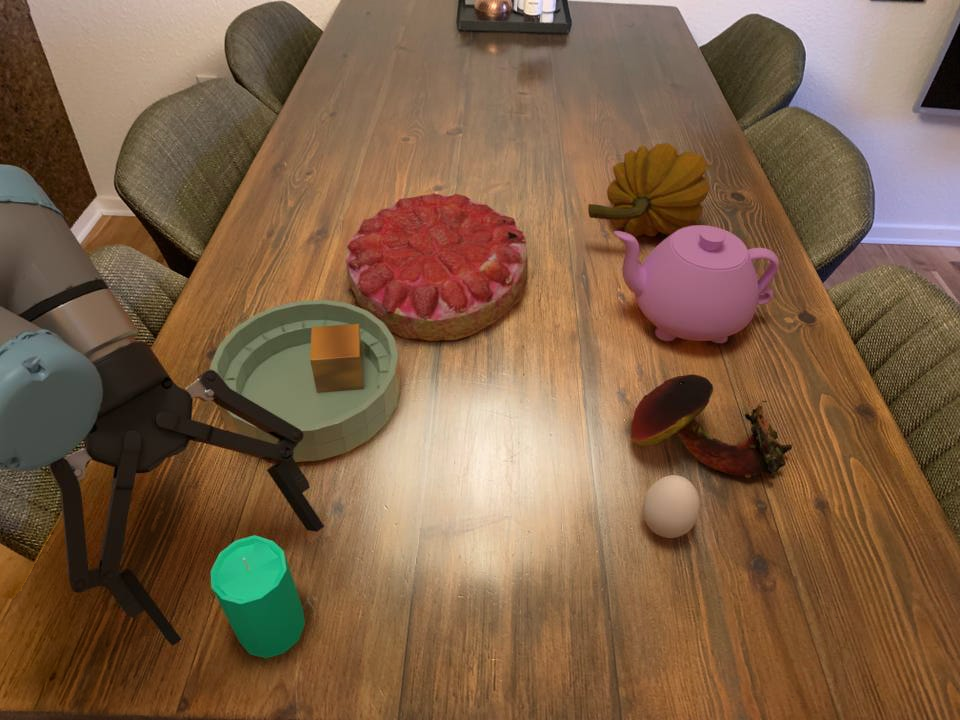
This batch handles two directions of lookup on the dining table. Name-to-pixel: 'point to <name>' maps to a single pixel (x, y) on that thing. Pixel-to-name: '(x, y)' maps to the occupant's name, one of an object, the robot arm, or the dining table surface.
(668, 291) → the teapot
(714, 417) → the dining table surface
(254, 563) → the candle
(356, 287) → the cake
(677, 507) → the egg
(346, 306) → the bowl
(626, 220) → the fruit
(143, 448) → the robot arm
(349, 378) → the block
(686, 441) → the mushroom
